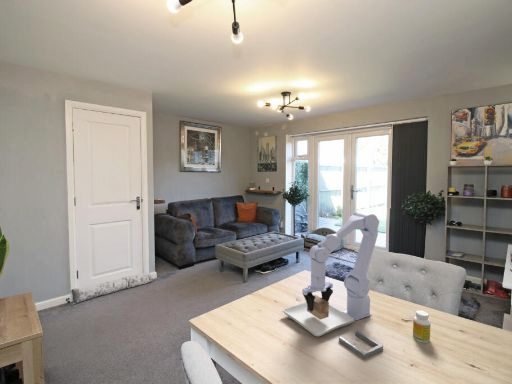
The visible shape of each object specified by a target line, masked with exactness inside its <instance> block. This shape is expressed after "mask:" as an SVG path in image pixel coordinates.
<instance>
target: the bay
mask: <svg viewBox="0 0 512 384" xmlns="http://www.w3.org/2000/svg"><path fill="white" fill-rule="evenodd" d="M354 332H355V336H356V337H358V338H360V339H362V340H363V341H364V342H366V343H368V344H369V345H371V346H372V347H371V348H369V349H367V350H365V351H364V350H362V349H360V348H359V347H357V346H355V345H354V344H353V343H351V342H350V341H348V340H347V339H345V338H344V337H343V336H339V337H338V342H339V343H341V344H343V346H345V347H346V348H348V349H349V350H350V351H352V352H353V353H355V354H356V355H358V356H359V357H361V358H362V359H363V360H365V359H367V358H369V357H371V356H374V355H376V354H378V353H380V352H382V351H384V345H382V344H381V343H379V342H377V341H376V340H375V339H372V338H371V337H369V336H368V335H367V334H365V333H363V332H361V331H360V330H358V329H355V331H354Z"/></svg>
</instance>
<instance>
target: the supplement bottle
mask: <svg viewBox="0 0 512 384" xmlns="http://www.w3.org/2000/svg"><path fill="white" fill-rule="evenodd" d="M412 322H413V323H412V337H413V339H414V340H416V341H417V342H421V343H430V341H431V325H432V324H431V320H430V319H429V313H428V312H426V311H425V310H420V309H419V310H416V311H415V316H414V317H413V320H412Z"/></svg>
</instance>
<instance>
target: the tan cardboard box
mask: <svg viewBox="0 0 512 384" xmlns="http://www.w3.org/2000/svg"><path fill="white" fill-rule="evenodd" d="M313 296H315V299H314V303H313V311H310V310H308V306H307V311H308V312H310V313H311V314H312V315H314V316H315V317H317V318H318V319H323V318H326V317H329V305H330V303H329V301H328V302H327V301H326V300H324V299H322V297H320V296H319V295H317V294H313Z"/></svg>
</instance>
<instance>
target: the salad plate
mask: <svg viewBox="0 0 512 384" xmlns="http://www.w3.org/2000/svg"><path fill="white" fill-rule="evenodd" d="M282 312H283V313H284V315H286V316H287V317H288V318H289V319H290V320H293V321H294V322H295V323H297V324H298V325H300V326H301V327H302V328H304V329H305V330H307V331H308V332H309V333H310V334H311V335H312V336H314V337H321V336H323V335H325V334H327V333H330V332H332V331H334V330H337V329H339V328H342V327H344V326H347V325H350V324H351V323H353V322H354V321H355V319H354V318H352V317H350V316H349V315H347V314H345V313H343V312H342V311H341V310H339V309H337V308H336V307H334V306H332V305H331V304H329V317H326V318H323V319H318V318H317V317H315V316H314V315H312V314H311V313H310V312H308V311H307V302H306V301H305V302H302V303H299V304H296V305H294V306H289V307H286V308H283V309H282Z"/></svg>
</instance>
